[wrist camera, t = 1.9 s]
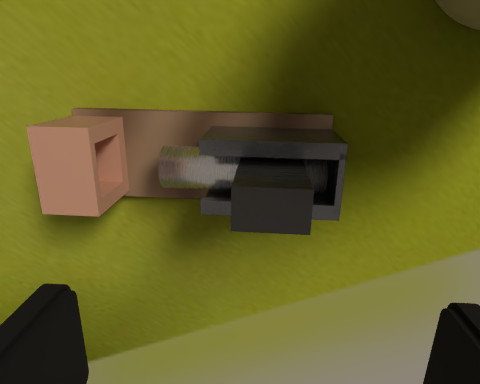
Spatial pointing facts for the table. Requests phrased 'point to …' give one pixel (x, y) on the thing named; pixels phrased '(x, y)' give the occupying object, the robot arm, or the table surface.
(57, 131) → the socket block
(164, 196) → the base board
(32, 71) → the table surface
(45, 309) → the robot arm
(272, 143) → the dark grey open box
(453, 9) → the potted cactus
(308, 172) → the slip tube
